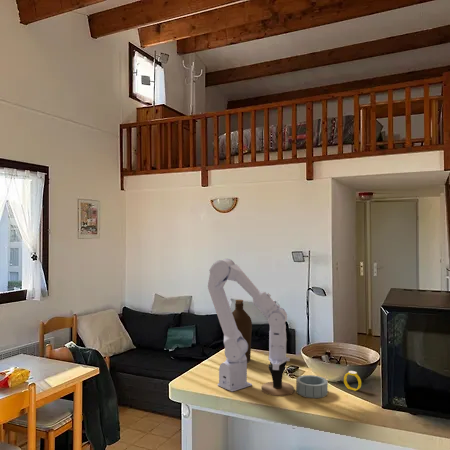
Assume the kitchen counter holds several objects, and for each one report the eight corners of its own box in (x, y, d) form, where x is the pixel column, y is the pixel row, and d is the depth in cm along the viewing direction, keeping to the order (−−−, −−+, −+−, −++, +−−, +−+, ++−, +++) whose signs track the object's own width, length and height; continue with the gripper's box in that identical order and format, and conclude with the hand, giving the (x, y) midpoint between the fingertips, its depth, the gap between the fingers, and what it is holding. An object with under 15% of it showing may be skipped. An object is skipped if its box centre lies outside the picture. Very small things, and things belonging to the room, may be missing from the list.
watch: (362, 391, 145) (363, 374, 144) (357, 393, 143) (358, 376, 143) (346, 385, 149) (347, 368, 149) (342, 387, 147) (343, 370, 147)
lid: (278, 398, 137) (278, 384, 137) (254, 388, 146) (254, 375, 146) (300, 390, 144) (300, 377, 145) (276, 381, 153) (276, 369, 153)
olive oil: (245, 355, 185) (245, 297, 185) (256, 362, 175) (256, 301, 175) (222, 358, 181) (222, 298, 181) (232, 365, 171) (232, 302, 172)
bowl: (314, 400, 136) (314, 388, 136) (290, 391, 143) (290, 379, 143) (333, 393, 142) (333, 381, 142) (309, 384, 150) (309, 373, 150)
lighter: (340, 380, 154) (340, 358, 154) (337, 381, 153) (337, 359, 153) (324, 375, 159) (324, 354, 160) (321, 376, 158) (321, 354, 159)
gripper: (288, 351, 137) (288, 393, 137) (290, 340, 152) (290, 378, 151) (266, 349, 139) (266, 391, 139) (270, 338, 153) (270, 377, 153)
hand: (277, 384), depth 145 cm, fingers closed on lid, 3 cm apart
